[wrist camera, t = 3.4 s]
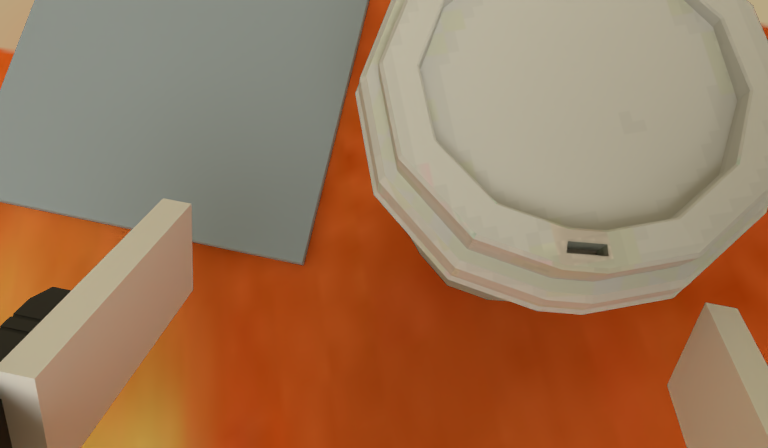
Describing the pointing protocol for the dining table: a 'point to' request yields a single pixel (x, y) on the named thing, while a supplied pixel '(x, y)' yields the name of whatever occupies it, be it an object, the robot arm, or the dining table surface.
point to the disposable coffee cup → (569, 142)
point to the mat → (180, 113)
